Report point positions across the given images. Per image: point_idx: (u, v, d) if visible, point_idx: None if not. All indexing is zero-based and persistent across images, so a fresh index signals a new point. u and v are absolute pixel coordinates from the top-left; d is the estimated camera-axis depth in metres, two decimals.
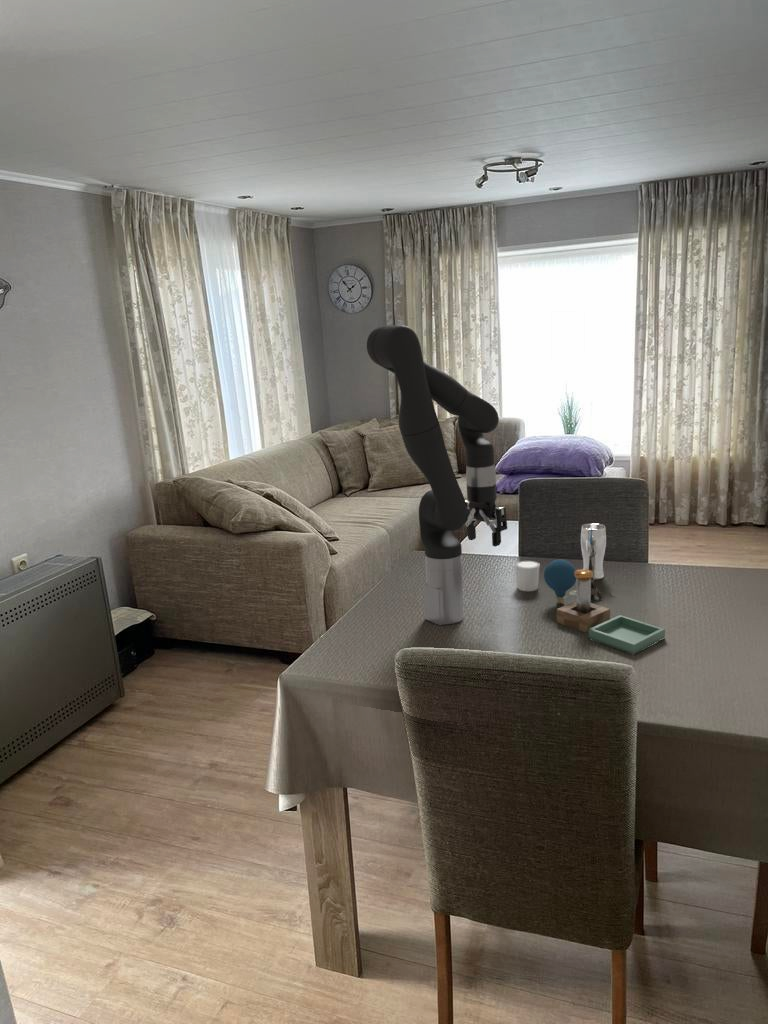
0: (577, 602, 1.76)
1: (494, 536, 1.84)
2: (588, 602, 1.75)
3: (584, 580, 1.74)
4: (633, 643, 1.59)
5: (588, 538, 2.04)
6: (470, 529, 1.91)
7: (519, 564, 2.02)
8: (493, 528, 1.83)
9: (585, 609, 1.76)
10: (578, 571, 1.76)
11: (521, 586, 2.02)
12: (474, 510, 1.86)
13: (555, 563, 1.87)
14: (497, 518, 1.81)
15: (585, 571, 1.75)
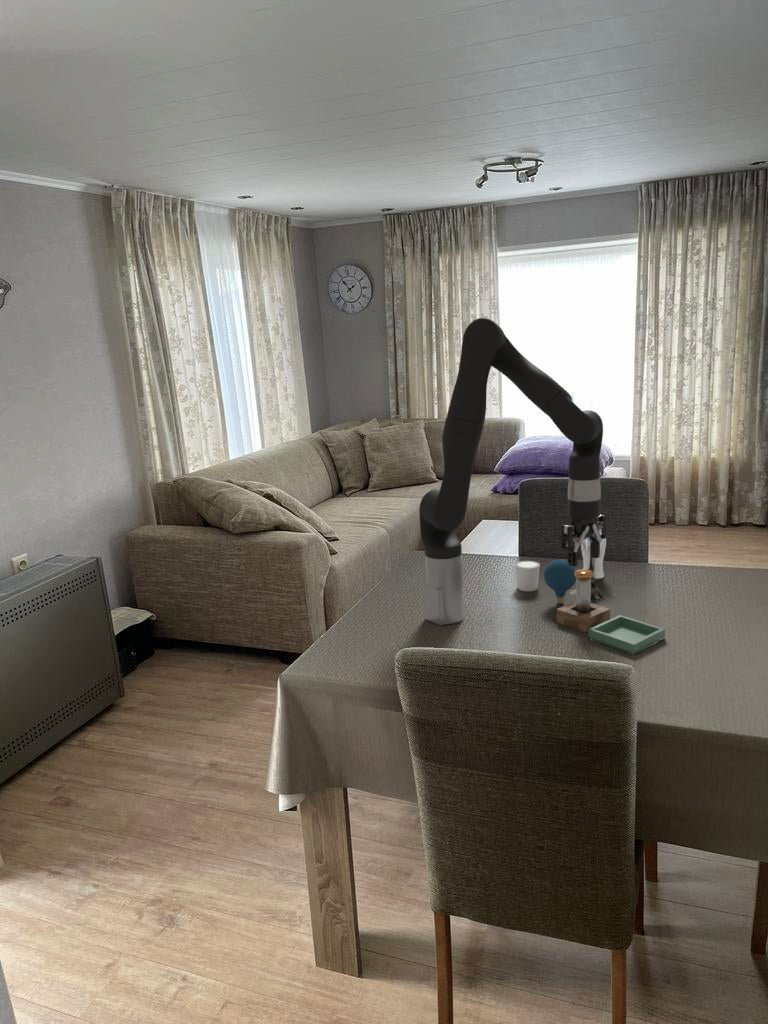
0: (577, 602, 1.76)
1: None
2: (588, 602, 1.75)
3: (584, 580, 1.74)
4: (633, 643, 1.59)
5: (588, 538, 2.04)
6: None
7: (519, 564, 2.02)
8: (599, 538, 1.75)
9: (585, 609, 1.76)
10: (578, 571, 1.76)
11: (521, 586, 2.02)
12: (587, 528, 1.70)
13: (555, 563, 1.87)
14: (603, 525, 1.76)
15: (585, 571, 1.75)
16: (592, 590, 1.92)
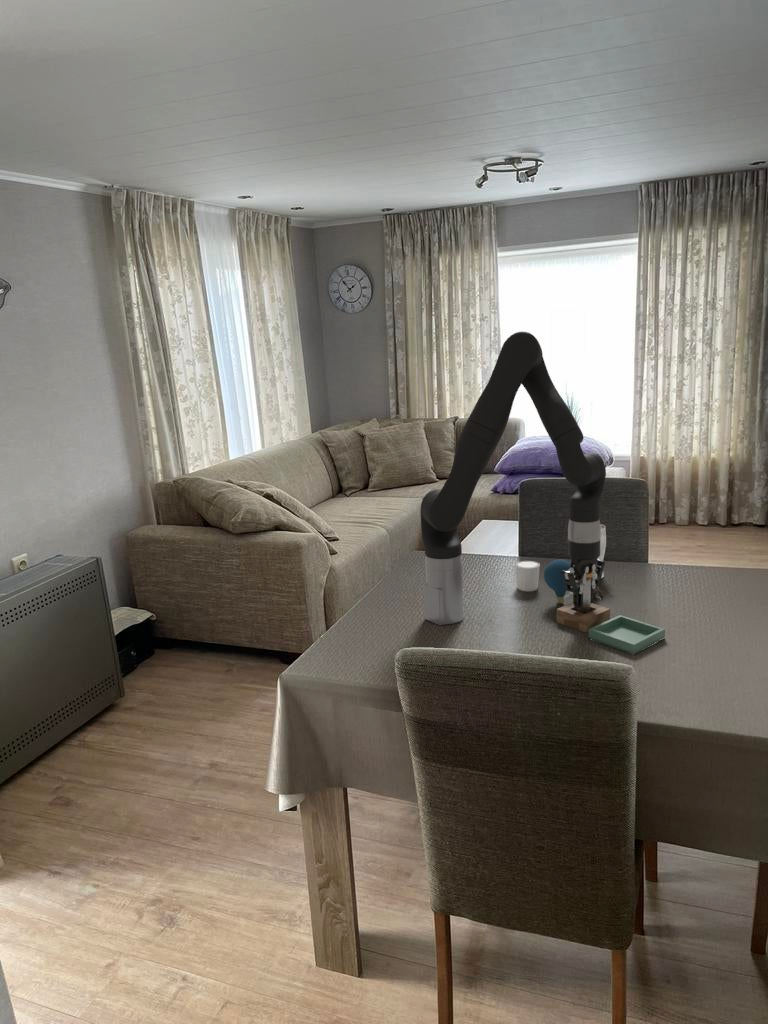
0: None
1: None
2: (588, 602, 1.75)
3: None
4: (633, 643, 1.59)
5: None
6: None
7: (519, 564, 2.02)
8: (594, 584, 1.76)
9: (585, 609, 1.76)
10: None
11: (521, 586, 2.02)
12: (587, 568, 1.72)
13: (555, 563, 1.87)
14: (600, 570, 1.77)
15: None
16: None
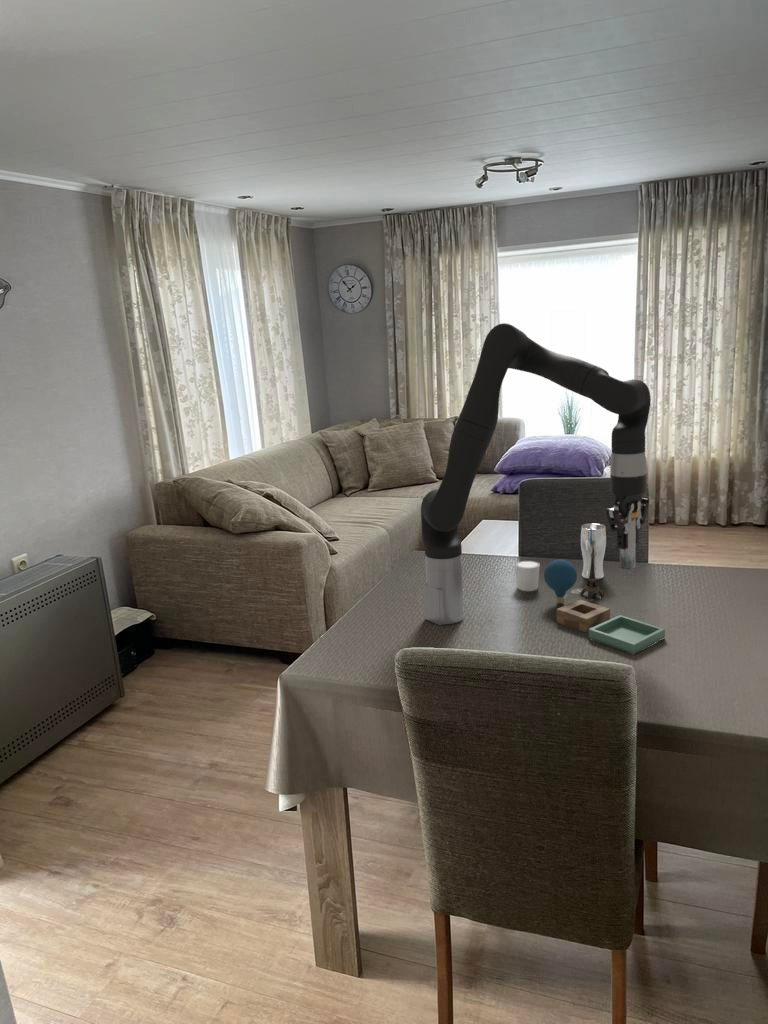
0: None
1: None
2: (633, 544, 1.62)
3: None
4: (633, 643, 1.59)
5: (588, 538, 2.04)
6: None
7: (519, 564, 2.02)
8: (639, 523, 1.63)
9: (630, 552, 1.62)
10: None
11: (521, 586, 2.02)
12: (632, 505, 1.59)
13: (555, 563, 1.87)
14: (645, 509, 1.64)
15: None
16: (593, 589, 1.93)
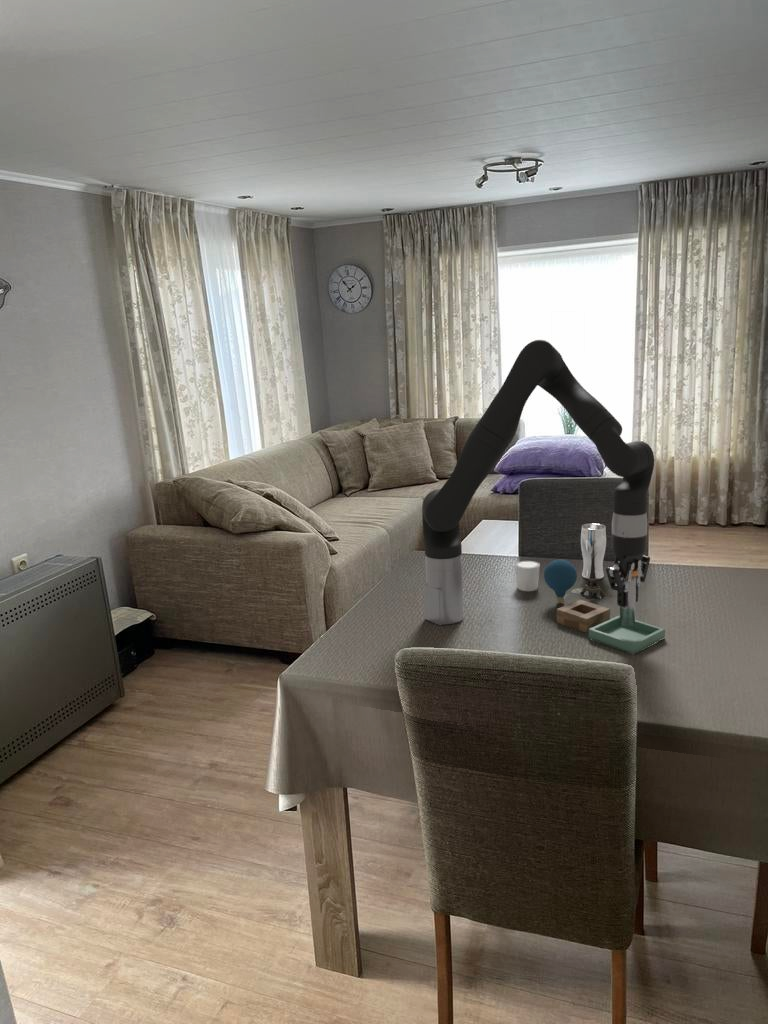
0: None
1: None
2: (633, 602, 1.64)
3: None
4: (633, 643, 1.59)
5: (588, 538, 2.04)
6: None
7: (519, 564, 2.02)
8: (639, 581, 1.65)
9: (630, 609, 1.64)
10: None
11: (521, 586, 2.02)
12: (633, 565, 1.61)
13: (555, 563, 1.87)
14: (646, 567, 1.66)
15: None
16: (594, 589, 1.93)
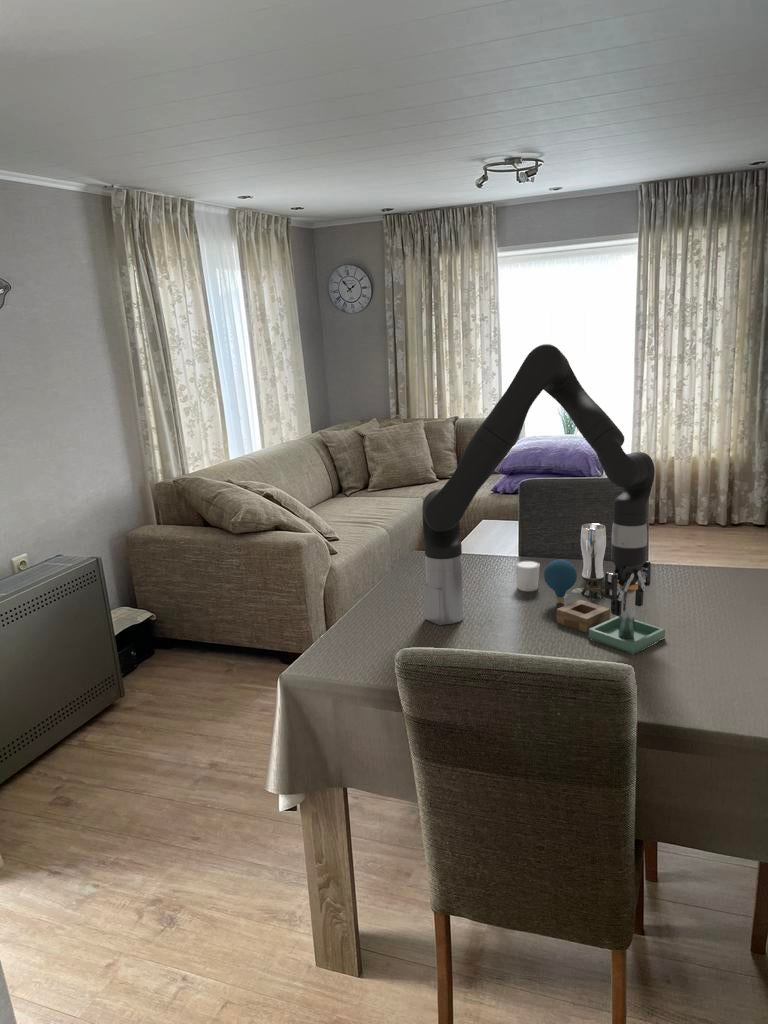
0: (620, 615, 1.66)
1: None
2: (632, 615, 1.65)
3: (629, 592, 1.63)
4: (633, 643, 1.59)
5: (588, 538, 2.04)
6: None
7: (519, 564, 2.02)
8: (643, 585, 1.66)
9: (629, 623, 1.65)
10: None
11: (521, 586, 2.02)
12: (632, 575, 1.61)
13: (555, 563, 1.87)
14: (648, 572, 1.66)
15: None
16: (594, 588, 1.93)
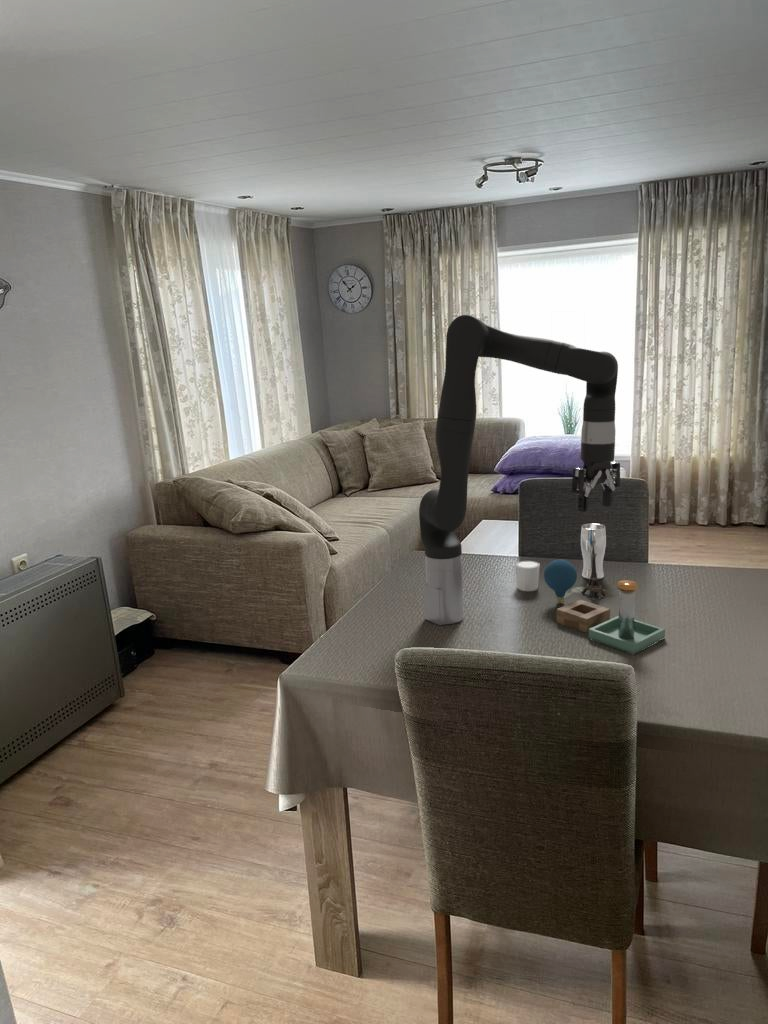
0: (620, 615, 1.66)
1: None
2: (632, 615, 1.65)
3: (628, 592, 1.63)
4: (633, 643, 1.59)
5: (588, 538, 2.04)
6: None
7: (519, 564, 2.02)
8: (613, 486, 1.71)
9: (628, 623, 1.65)
10: (621, 582, 1.65)
11: (521, 586, 2.02)
12: (600, 473, 1.66)
13: (555, 563, 1.87)
14: (617, 473, 1.71)
15: (629, 583, 1.64)
16: (595, 588, 1.93)
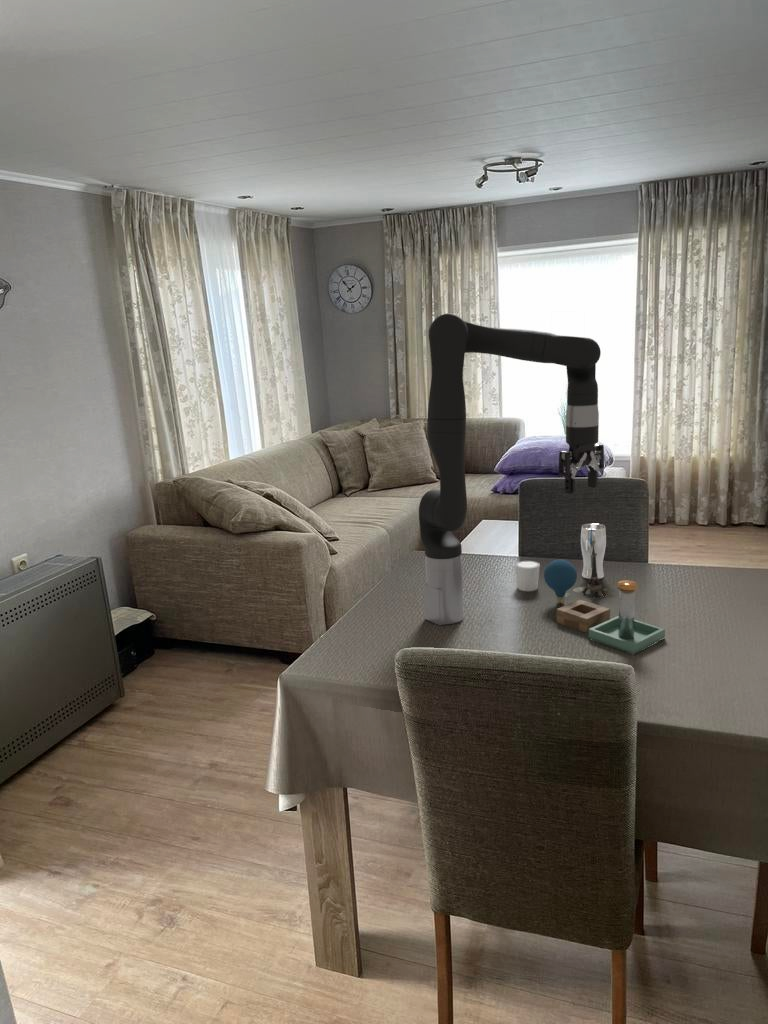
0: (620, 615, 1.66)
1: None
2: (632, 615, 1.65)
3: (628, 592, 1.63)
4: (633, 643, 1.59)
5: (588, 538, 2.04)
6: None
7: (519, 564, 2.02)
8: (597, 467, 1.76)
9: (628, 623, 1.65)
10: (621, 582, 1.65)
11: (521, 586, 2.02)
12: (585, 455, 1.71)
13: (555, 563, 1.87)
14: (601, 455, 1.77)
15: (629, 583, 1.65)
16: (596, 587, 1.94)
